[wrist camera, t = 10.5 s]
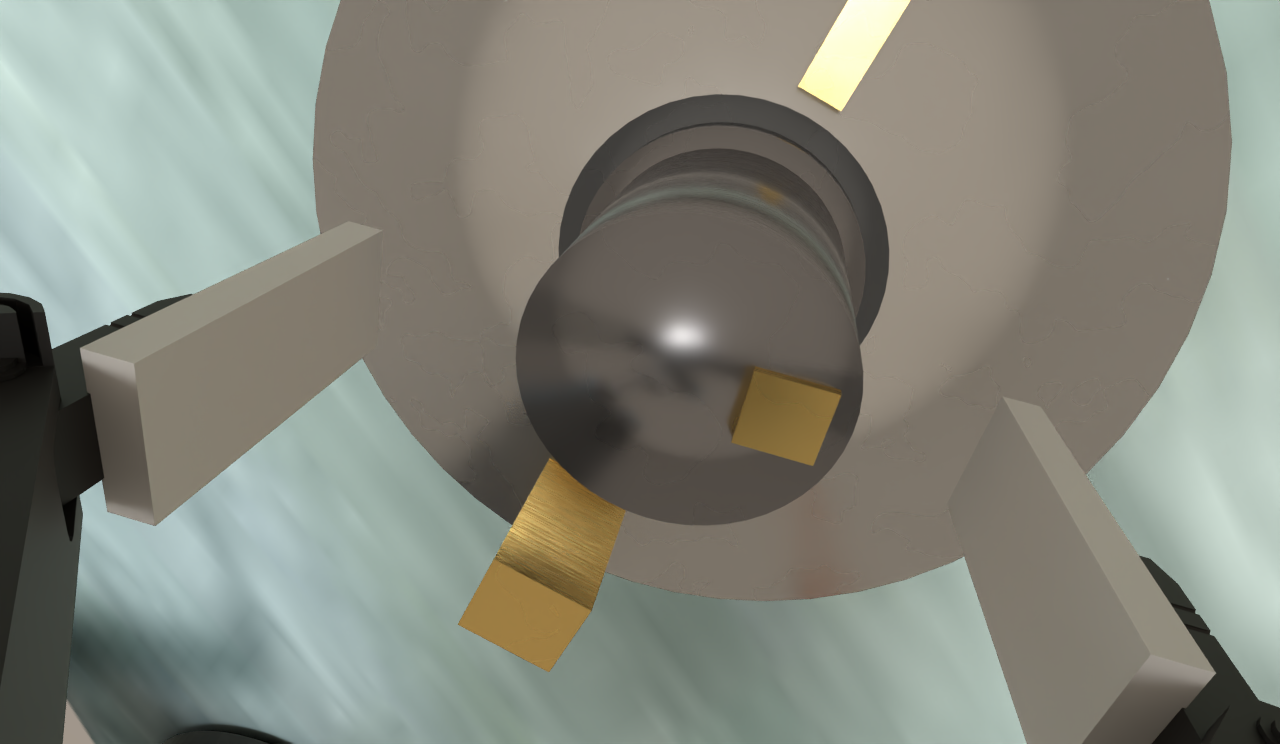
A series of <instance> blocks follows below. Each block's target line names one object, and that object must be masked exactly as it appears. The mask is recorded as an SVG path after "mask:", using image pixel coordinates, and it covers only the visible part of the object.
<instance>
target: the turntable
mask: <svg viewBox="0 0 1280 744" xmlns="http://www.w3.org/2000/svg"><path fill="white" fill-rule="evenodd" d="M713 122H730V123H742V124H747V125H753V126H758V127H761V128H764V129H767V130H770V131H773V132H776V133H778V134H781V135H783V136H785V137H787V138H789V139H791V140H793V141H795V142H796V143H798V144H799V145H801V146H802V147H804V148H805V149H807V150H808V151H810V152H811V153H812V154H813V155H814V156H816V157H817V158H818V159H819V160H820V161H821V162H822V163H823V164H824V165H826V167H827V168H828V169H829V170H830V171H831V173H832V174H833V175H834V176H835V177H836V179H837V180H838V181H839V183H840V184H841V186H842V187H843V189H844V191H845V192H846V194H847V196H848V197H849V199H850V202H851V204H852V206H853V209H854V211H855V213H856V216H857V220H858V223H859V227H860V231H861V234H862V238H863V242H864V250H865V258H866V276H865V285H864V291H863V298H862V301H861V304H860V307H859V311H858V314H857V316H856V319H855V321H856V327H857V333H858V339H859V345H860V351H861V358H862V365H863V396H862V402H861V408H860V414H859V417H858V420H857V423H856V426H855V429H854V432H853V434H852V436H851V438H850V440H849V442H848V444H847V446H846V448H845V450H844V452H843V453H842V455H841V456H840V457H839V459H838V460H837V462H836V463H835V464H834V466H833V467H832V469H831V470H830V471H829V472H828V473H827V474H826V475H825V476H824V477H823V478H822V479H821V480H820V481H819V482H818V483H817V484H816V485H815V486H813V487H812V488H811V489H810V490H808V491H807V492H806V493H805V494H803V495H802V496H800V497H799V498H797V499H795V500H794V501H792V502H791V503H789V504H787V505H786V506H784V507H781V508H779V509H777V510H775V511H772V512H770V513H768V514H765V515H762V516H759V517H756V518H753V519H749V520H746V521H740V522H735V523H730V524H721V525H708V526H701V525H682V524H675V523H667V522H662V521H658V520H654V519H650V518H646V517H643V516H640V515H637V514H635V513H632V512H629V511H626V510H624V509H622V508H620V507H618V506H616V505H614V504H611V503H609V502H607V501H606V500H604V499H602V498H601V497H599V496H598V495H596V494H594V493H593V492H591V491H590V490H588V489H587V488H586V487H584V486H583V485H582V484H580V483H579V482H578V481H577V480H575V479H574V478H573V477H572V476H571V475H570V474H569V473H568V472H567V471H566V470H565V469H564V468H563V467H561V466H560V465H559V463H558V462H557V461H556V460H555V459H554V457H553V456H552V455H551V454H550V453H549V451H548V450H547V449H546V447H545V446H544V444H543V443H542V441H541V440H540V438H539V437H538V435H537V434H536V432H535V430H534V428H533V426H532V424H531V422H530V420H529V418H528V416H527V413H526V410H525V407H524V404H523V401H522V399H521V395H520V390H519V385H518V381H517V372H516V344H517V336H518V331H519V326H520V322H521V318H522V315H523V313H524V310H525V307H526V305H527V302H528V300H529V298H530V296H531V294H532V293H533V291H534V289H535V287H536V285H537V284H538V282H539V281H540V279H541V278H542V277H543V275H544V274H545V273H546V272H547V270H548V269H549V268H550V266H551V265H552V264H553V263H554V262H555V261H556V260H557V259H558V258H559V257H560V256H561V255H562V254H563V253H564V251H565V250H566V249H567V248H568V247H569V246H570V245H571V244H572V243H573V242H574V241H575V240H576V239H577V238H578V237H579V235H580V231H581V227H582V223H583V220H584V218H585V215H586V213H587V210H588V208H589V205H590V203H591V202H592V200H593V198H594V196H595V195H596V193H597V191H598V189H599V188H600V187H601V186H602V184H603V183H604V182H605V180H606V179H607V178H608V176H609V175H610V174H611V173H612V172H613V171H614V170H615V169H616V168H617V167H618V166H619V165H620V164H621V163H622V162H623V161H624V160H625V159H627V158H628V157H629V156H630V155H631V154H633V153H634V152H635V151H637V150H638V149H639V148H641V147H642V146H643V145H645V144H646V143H648V142H650V141H652V140H654V139H655V138H657V137H659V136H661V135H663V134H666V133H669V132H671V131H674V130H676V129H679V128H683V127H687V126H691V125H696V124H702V123H713ZM1231 147H1232V138H1231V125H1230V111H1229V98H1228V85H1227V72H1226V68H1225V64H1224V60H1223V56H1222V51H1221V47H1220V43H1219V39H1218V35H1217V31H1216V27H1215V22H1214V18H1213V14H1212V10H1211V6H1210V2H1209V0H341V1H340V4H339V7H338V11H337V14H336V17H335V20H334V23H333V26H332V29H331V33H330V36H329V39H328V42H327V45H326V49H325V55H324V60H323V66H322V72H321V77H320V83H319V88H318V94H317V99H316V108H315V127H314V147H313V169H314V183H315V197H316V211H317V217H318V222H319V228H320V233H321V234H323V233H325V232H327V231H329V230H331V229H333V228H335V227H337V226H339V225H342V224H344V223H346V222H348V221H350V222H354V223H357V224H361V225H365V226H369V227H372V228H376V229H380V230H383V238H382V259H381V281H380V302H379V324H378V345H377V346H376V347H375V348H374V349H373V350H371V351H370V352H369V353H368V354H366V355H365V356H364V357H363V360H364V362H365V364H366V365H367V367H368V369H369V371H370V372H371V374H372V376H373V377H374V379H375V381H376V383H377V384H378V386H379V388H380V390H381V391H382V393H383V395H384V396H385V398H386V399H387V401H388V402H389V403H390V405H391V406H392V407H393V409H394V410H395V412H396V413H397V414H398V416H399V417H400V419H401V420H402V421H403V423H404V424H405V425H406V427H407V428H408V430H409V431H410V432H411V434H412V435H413V436H414V437H415V438H416V439H417V440H418V441H419V443H420V444H421V445H422V446H423V447H424V448H425V449H426V450H427V451H428V453H429V454H430V455H431V456H432V457H433V458H434V459H435V460H436V462H437V463H438V464H439V465H440V466H441V467H442V468H443V469H444V470H445V471H446V472H447V473H448V474H450V475H451V476H452V477H453V478H454V479H455V480H456V481H457V482H458V483H459V484H461V485H462V486H463V487H464V488H465V489H466V490H467V491H468V492H469V493H470V494H472V495H473V496H474V497H475V498H476V499H477V500H479V501H480V502H482V503H483V504H484V505H486V506H487V507H488V508H490V509H491V510H492V511H494V512H495V513H496V514H498V515H499V516H500V517H502V518H503V519H504V520H506V521H507V522H508V523H510V524H511V525H512V527H511V529H510V531H509V533H508V534H507V536H506V538H505V540H504V542H503V543H502V545H501V547H500V549H499V551H498V552H497V554H496V556H495V558H494V560H493V562H492V563H491V565H490V567H489V569H488V571H487V572H486V574H485V576H484V578H483V580H482V581H481V583H480V585H479V587H478V589H477V591H476V592H475V594H474V596H473V598H472V600H471V601H470V603H469V605H468V607H467V609H466V611H465V612H464V614H463V616H462V618H461V620H460V621H459V623H458V625H460V626H462V627H463V628H465V629H467V630H469V631H471V632H473V633H475V634H477V635H479V636H481V637H483V638H484V639H486V640H488V641H490V642H492V643H494V644H496V645H498V646H500V647H502V648H504V649H505V650H507V651H509V652H511V653H513V654H515V655H517V656H519V657H521V658H523V659H525V660H526V661H528V662H530V663H532V664H534V665H536V666H538V667H540V668H542V669H544V670H546V671H547V672H549V671H550V670H551V669H552V667H553V666H554V664H555V663H556V661H557V660H558V658H559V657H560V656H561V654H562V653H563V651H564V650H565V648H566V647H567V645H568V644H569V643H570V641H571V640H572V638H573V637H574V635H575V634H576V632H577V631H578V630H579V628H580V627H581V625H582V624H583V622H584V621H585V619H586V618H587V617H588V615H589V614H590V612H591V611H592V608H593V605H594V602H595V599H596V596H597V593H598V590H599V587H600V584H601V582H602V579H603V576H604V573H605V572H607V573H610V574H613V575H615V576H618V577H621V578H624V579H627V580H629V581H633V582H637V583H641V584H645V585H649V586H653V587H657V588H661V589H665V590H669V591H672V592H678V593H685V594H691V595H698V596H705V597H711V598H718V599H736V600H755V601H775V600H796V599H813V598H819V597H826V596H833V595H840V594H846V593H853V592H859V591H863V590H867V589H871V588H875V587H878V586H882V585H886V584H890V583H894V582H898V581H902V580H906V579H908V578H911V577H914V576H916V575H919V574H922V573H924V572H927V571H930V570H933V569H935V568H938V567H941V566H943V565H946V564H949V563H951V562H953V561H955V560H957V559H959V558H961V557H963V556H964V554H963V551H962V548H961V545H960V542H959V539H958V536H957V533H956V530H955V527H954V524H953V521H952V518H951V515H950V512H949V509H948V506H947V503H948V501H949V499H950V497H951V495H952V493H953V491H954V489H955V487H956V485H957V483H958V482H959V480H960V478H961V476H962V474H963V472H964V470H965V468H966V466H967V464H968V462H969V460H970V458H971V456H972V454H973V452H974V451H975V449H976V447H977V445H978V443H979V441H980V439H981V437H982V435H983V433H984V431H985V429H986V427H987V425H988V423H989V422H990V420H991V418H992V416H993V414H994V412H995V410H996V408H997V406H998V404H999V402H1000V400H1001V398H1002V396H1003V397H1007V398H1010V399H1014V400H1018V401H1021V402H1025V403H1029V404H1033V405H1036V406H1040V407H1041V408H1042V409H1043V411H1044V412H1045V414H1046V415H1047V417H1048V418H1049V420H1050V422H1051V423H1052V425H1053V426H1054V428H1055V429H1056V431H1057V432H1058V434H1059V435H1060V437H1061V438H1062V440H1063V441H1064V443H1065V444H1066V446H1067V447H1068V449H1069V450H1070V452H1071V453H1072V455H1073V456H1074V458H1075V460H1076V461H1077V463H1078V464H1079V466H1080V467H1081V469H1082V470H1083V472H1084V473H1085V475H1086V474H1087V473H1088V472H1089V471H1090V470H1091V468H1092V467H1093V466H1094V465H1095V464H1096V463H1097V462H1098V461H1099V460H1100V459H1101V458H1102V457H1103V456H1104V455H1105V454H1106V453H1107V452H1108V451H1109V450H1110V449H1111V447H1112V446H1113V445H1114V444H1115V443H1116V442H1117V441H1118V440H1119V439H1120V438H1121V437H1122V436H1123V435H1124V434H1125V432H1126V431H1127V430H1128V428H1129V427H1130V426H1131V424H1132V423H1133V422H1134V420H1135V419H1136V417H1137V416H1138V415H1139V413H1140V412H1141V411H1142V409H1143V408H1144V407H1145V405H1146V404H1147V403H1148V401H1149V400H1150V399H1151V397H1152V396H1153V394H1154V393H1155V392H1156V390H1157V389H1158V388H1159V386H1160V384H1161V383H1162V381H1163V379H1164V377H1165V375H1166V374H1167V372H1168V370H1169V368H1170V366H1171V365H1172V363H1173V361H1174V359H1175V357H1176V355H1177V354H1178V352H1179V350H1180V348H1181V346H1182V345H1183V343H1184V341H1185V339H1186V337H1187V336H1188V334H1189V331H1190V329H1191V326H1192V324H1193V321H1194V319H1195V316H1196V313H1197V311H1198V308H1199V306H1200V303H1201V301H1202V298H1203V295H1204V293H1205V290H1206V288H1207V285H1208V283H1209V280H1210V277H1211V275H1212V271H1213V266H1214V262H1215V258H1216V253H1217V249H1218V245H1219V240H1220V236H1221V232H1222V228H1223V223H1224V219H1225V215H1226V210H1227V198H1228V185H1229V172H1230V160H1231Z"/></svg>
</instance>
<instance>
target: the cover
mask: <svg viewBox="0 0 1280 744" xmlns="http://www.w3.org/2000/svg"><path fill="white" fill-rule="evenodd" d="M865 276H866V258H865V250H864V242H863V238H862V234H861V231H860V227H859V223H858V220H857V216H856V213H855V211H854V209H853V206H852V204H851V202H850V199H849V197H848V196H847V194H846V192H845V191H844V189H843V187H842V186H841V184H840V183H839V181H838V180H837V179H836V177H835V176H834V175H833V174H832V173H831V171H830V170H829V169H828V168H827V167H826V165H824V164H823V163H822V162H821V161H820V160H819V159H818V158H817V157H816V156H814V155H813V154H812V153H811V152H810V151H808V150H807V149H805V148H804V147H802V146H801V145H799V144H798V143H796V142H795V141H793V140H791V139H789V138H787V137H785V136H783V135H781V134H778V133H776V132H773V131H770V130H767V129H764V128H761V127H758V126H753V125H747V124H742V123H730V122H713V123H702V124H696V125H691V126H687V127H683V128H679V129H676V130H674V131H671V132H669V133H666V134H663V135H661V136H659V137H657V138H655V139H654V140H652V141H650V142H648V143H646V144H645V145H643V146H642V147H641V148H639V149H638V150H637V151H635V152H634V153H633V154H631V155H630V156H629V157H628V158H627V159H625V160H624V161H623V162H622V163H621V164H620V165H619V166H618V167H617V168H616V169H615V170H614V171H613V172H612V173H611V174H610V175H609V176H608V178H607V179H606V180H605V182H604V183H603V184H602V186H601V187H600V188H599V189H598V191H597V193H596V195H595V196H594V198H593V200H592V202H591V203H590V205H589V208H588V210H587V213H586V215H585V218H584V220H583V223H582V227H581V231H580V235H579V237H578V238H577V239H576V240H575V241H574V242H573V243H572V244H571V245H570V246H569V247H568V248H567V249H566V250H565V251H564V253H563V254H562V255H561V256H560V257H559V258H558V259H557V260H556V261H555V262H554V263H553V264H552V265H551V266H550V268H549V269H548V270H547V272H546V273H545V274H544V275H543V277H542V278H541V279H540V281H539V282H538V284H537V285H536V287H535V289H534V291H533V293H532V294H531V296H530V298H529V300H528V302H527V305H526V307H525V310H524V313H523V315H522V318H521V322H520V326H519V331H518V336H517V344H516V372H517V381H518V385H519V390H520V395H521V399H522V401H523V404H524V407H525V410H526V413H527V416H528V418H529V420H530V422H531V424H532V426H533V428H534V430H535V432H536V434H537V435H538V437H539V438H540V440H541V441H542V443H543V444H544V446H545V447H546V449H547V450H548V451H549V453H550V454H551V455H552V456H553V457H554V459H555V460H556V461H557V462H558V463H559V465H560V466H561V467H563V468H564V469H565V470H566V471H567V472H568V473H569V474H570V475H571V476H572V477H573V478H574V479H575V480H577V481H578V482H579V483H580V484H582V485H583V486H584V487H586V488H587V489H588V490H590V491H591V492H593V493H594V494H596V495H598V496H599V497H601V498H602V499H604V500H606V501H607V502H609V503H611V504H614V505H616V506H618V507H620V508H622V509H624V510H626V511H629V512H632V513H635V514H637V515H640V516H643V517H646V518H650V519H654V520H658V521H662V522H667V523H675V524H682V525H701V526H708V525H721V524H730V523H735V522H740V521H746V520H749V519H753V518H756V517H759V516H762V515H765V514H768V513H770V512H772V511H775V510H777V509H779V508H781V507H784V506H786V505H787V504H789V503H791V502H792V501H794V500H795V499H797V498H799V497H800V496H802V495H803V494H805V493H806V492H807V491H808V490H810V489H811V488H812V487H813V486H815V485H816V484H817V483H818V482H819V481H820V480H821V479H822V478H823V477H824V476H825V475H826V474H827V473H828V472H829V471H830V470H831V469H832V467H833V466H834V464H835V463H836V462H837V460H838V459H839V457H840V456H841V455H842V453H843V452H844V450H845V448H846V446H847V444H848V442H849V440H850V438H851V436H852V434H853V432H854V429H855V426H856V423H857V420H858V417H859V414H860V408H861V402H862V396H863V365H862V358H861V351H860V345H859V339H858V333H857V327H856V321H855V319H856V316H857V314H858V311H859V307H860V304H861V301H862V298H863V291H864V285H865Z"/></svg>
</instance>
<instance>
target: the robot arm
mask: <svg viewBox="0 0 1280 744" xmlns="http://www.w3.org/2000/svg"><path fill="white" fill-rule="evenodd" d="M382 238H383V230H380V229H376V228H372V227H369V226H365V225H361V224H357V223H354V222H350V221H348V222H346V223H344V224H342V225H339V226H337V227H335V228H333V229H331V230H329V231H327V232H325V233H323V234H320V235H318V236H316V237H314V238H312V239H310V240H308V241H306V242H303V243H301V244H299V245H297V246H295V247H293V248H291V249H289V250H287V251H284V252H282V253H280V254H278V255H276V256H274V257H272V258H270V259H267V260H265V261H263V262H261V263H259V264H257V265H255V266H253V267H251V268H248V269H246V270H244V271H242V272H240V273H238V274H236V275H234V276H231V277H229V278H227V279H225V280H223V281H221V282H219V283H217V284H215V285H212V286H210V287H208V288H206V289H204V290H202V291H200V292H198V293H195V294H188V295H184V296H179V297H174V298H170V299H165V300H160V301H157V302H155V303H152V304H150V305H148V306H146V307H144V308H141V309H139V310H137V311H135V312H133V313H132V315H131V316H129V315H126V316H124V317H122V318H119V319H117V320H115V321H113V322H111V325H110V326H109V325H104V326H102V327H100V328H97V329H95V330H93V331H91V332H89V333H87V334H84V335H82V336H80V337H78V338H76V339H73V340H71V341H69V342H67V343H65V344H62V345H60V346H58V347H56V348H54V349H52V348H51V343H50V337H49V332H48V327H47V322H46V316H45V312H44V309H43V306H42V304H41V303H39V302H37V301H35V300H33V299H32V298H30V297H25V296H21V295H16V294H11V293H0V744H62V743H63V732H64V721H65V709H66V698H67V687H68V676H69V665H70V653H71V642H72V631H73V620H74V608H75V597H76V586H77V574H78V563H79V552H80V541H81V529H82V518H83V512H82V507H81V502H80V496H79V495H80V494H82V493H83V492H84V491H86V490H87V489H89V488H90V487H92V486H93V485H95V484H96V483H98V482H99V481H101V480H102V483H103V488H104V494H105V500H106V506H107V512H110V513H113V514H117V515H120V516H123V517H127V518H130V519H133V520H137V521H140V522H143V523H147V524H150V525H153V526H156V525H157V524H158V523H160V522H161V521H162V520H163V519H165V518H166V517H167V516H168V515H169V514H171V513H172V512H173V511H174V510H176V509H177V508H178V507H179V506H181V505H182V504H183V503H184V502H185V501H187V500H188V499H189V498H190V497H192V496H193V495H194V494H195V493H197V492H198V491H199V490H200V489H201V488H203V487H204V486H205V485H206V484H208V483H209V482H210V481H211V480H213V479H214V478H215V477H216V476H217V475H219V474H220V473H221V472H222V471H224V470H225V469H226V468H227V467H229V466H230V465H231V464H232V463H233V462H235V461H236V460H237V459H238V458H240V457H241V456H242V455H243V454H245V453H246V452H247V451H248V450H249V449H251V448H252V447H253V446H254V445H256V444H257V443H258V442H259V441H261V440H262V439H263V438H264V437H265V436H267V435H268V434H269V433H270V432H272V431H273V430H274V429H275V428H277V427H278V426H279V425H280V424H281V423H283V422H284V421H285V420H286V419H288V418H289V417H290V416H291V415H293V414H294V413H295V412H296V411H298V410H299V409H300V408H301V407H302V406H304V405H305V404H306V403H307V402H309V401H310V400H311V399H312V398H314V397H315V396H316V395H317V394H318V393H320V392H321V391H322V390H323V389H325V388H326V387H327V386H328V385H330V384H331V383H332V382H333V381H334V380H336V379H337V378H338V377H339V376H341V375H342V374H343V373H344V372H346V371H347V370H348V369H349V368H350V367H352V366H353V365H354V364H355V363H357V362H358V361H359V360H360V359H362V358H363V357H364V356H365V355H366V354H368V353H369V352H370V351H371V350H373V349H374V348H375V347H376V346H377V345H378V324H379V302H380V281H381V259H382ZM947 506H948V509H949V512H950V515H951V518H952V521H953V524H954V527H955V530H956V533H957V536H958V539H959V542H960V545H961V548H962V551H963V554H964V557H965V560H966V563H967V566H968V569H969V572H970V575H971V578H972V581H973V584H974V587H975V590H976V593H977V596H978V599H979V602H980V605H981V608H982V611H983V614H984V617H985V620H986V623H987V626H988V629H989V632H990V635H991V638H992V641H993V644H994V647H995V649H996V652H997V655H998V658H999V661H1000V664H1001V667H1002V670H1003V673H1004V676H1005V679H1006V682H1007V685H1008V688H1009V691H1010V694H1011V697H1012V700H1013V703H1014V706H1015V709H1016V712H1017V715H1018V718H1019V721H1020V724H1021V727H1022V730H1023V733H1024V736H1025V739H1026V742H1027V744H1280V708H1279V707H1276V706H1273V705H1270V704H1268V703H1265V702H1262V701H1259V700H1258V699H1257V697H1256V696H1255V694H1254V693H1253V691H1252V690H1251V689H1250V687H1249V686H1248V684H1247V683H1246V681H1245V680H1244V678H1243V677H1242V676H1241V674H1240V673H1239V671H1238V670H1237V668H1236V667H1235V665H1234V664H1233V663H1232V661H1231V660H1230V658H1229V657H1228V655H1227V654H1226V653H1225V651H1224V650H1223V648H1222V647H1221V645H1220V644H1219V642H1218V641H1217V640H1216V638H1215V637H1214V636H1212V635H1210V629H1209V628H1208V627H1207V625H1206V624H1205V622H1204V621H1203V619H1202V618H1201V616H1200V615H1198V614H1195V611H1196V609H1195V608H1194V606H1193V605H1192V604H1191V602H1190V601H1189V599H1188V598H1187V596H1186V595H1185V593H1184V592H1183V591H1182V589H1181V588H1180V586H1179V585H1178V584H1177V583H1176V582H1175V581H1174V580H1173V579H1172V578H1171V577H1170V576H1168V575H1167V574H1166V573H1165V572H1164V571H1163V570H1162V569H1161V568H1160V567H1159V566H1157V565H1156V564H1155V563H1154V562H1153V561H1152V560H1151V559H1149V558H1146V557H1142V556H1139V555H1138V554H1137V552H1136V551H1135V549H1134V548H1133V546H1132V545H1131V543H1130V542H1129V540H1128V539H1127V537H1126V536H1125V534H1124V532H1123V531H1122V529H1121V528H1120V526H1119V525H1118V523H1117V522H1116V520H1115V519H1114V517H1113V516H1112V514H1111V513H1110V511H1109V510H1108V508H1107V507H1106V505H1105V504H1104V502H1103V501H1102V499H1101V498H1100V496H1099V494H1098V493H1097V491H1096V490H1095V488H1094V487H1093V485H1092V484H1091V482H1090V481H1089V479H1088V478H1087V476H1086V475H1085V473H1084V472H1083V470H1082V469H1081V467H1080V466H1079V464H1078V463H1077V461H1076V460H1075V458H1074V456H1073V455H1072V453H1071V452H1070V450H1069V449H1068V447H1067V446H1066V444H1065V443H1064V441H1063V440H1062V438H1061V437H1060V435H1059V434H1058V432H1057V431H1056V429H1055V428H1054V426H1053V425H1052V423H1051V422H1050V420H1049V418H1048V417H1047V415H1046V414H1045V412H1044V411H1043V409H1042V408H1041V407H1040V406H1036V405H1033V404H1029V403H1025V402H1021V401H1018V400H1014V399H1010V398H1007V397H1003V396H1002V398H1001V400H1000V402H999V404H998V406H997V408H996V410H995V412H994V414H993V416H992V418H991V420H990V422H989V423H988V425H987V427H986V429H985V431H984V433H983V435H982V437H981V439H980V441H979V443H978V445H977V447H976V449H975V451H974V452H973V454H972V456H971V458H970V460H969V462H968V464H967V466H966V468H965V470H964V472H963V474H962V476H961V478H960V480H959V482H958V483H957V485H956V487H955V489H954V491H953V493H952V495H951V497H950V499H949V501H948V503H947ZM162 744H268V743H265V742H263V741H260V740H256V739H253V738H250V737H246V736H242V735H237V734H232V733H226V732H218V731H194V732H187V733H183V734H179V735H176V736H173V737H171V738H169V739H167V740H166V741H164V742H163V743H162Z"/></svg>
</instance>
